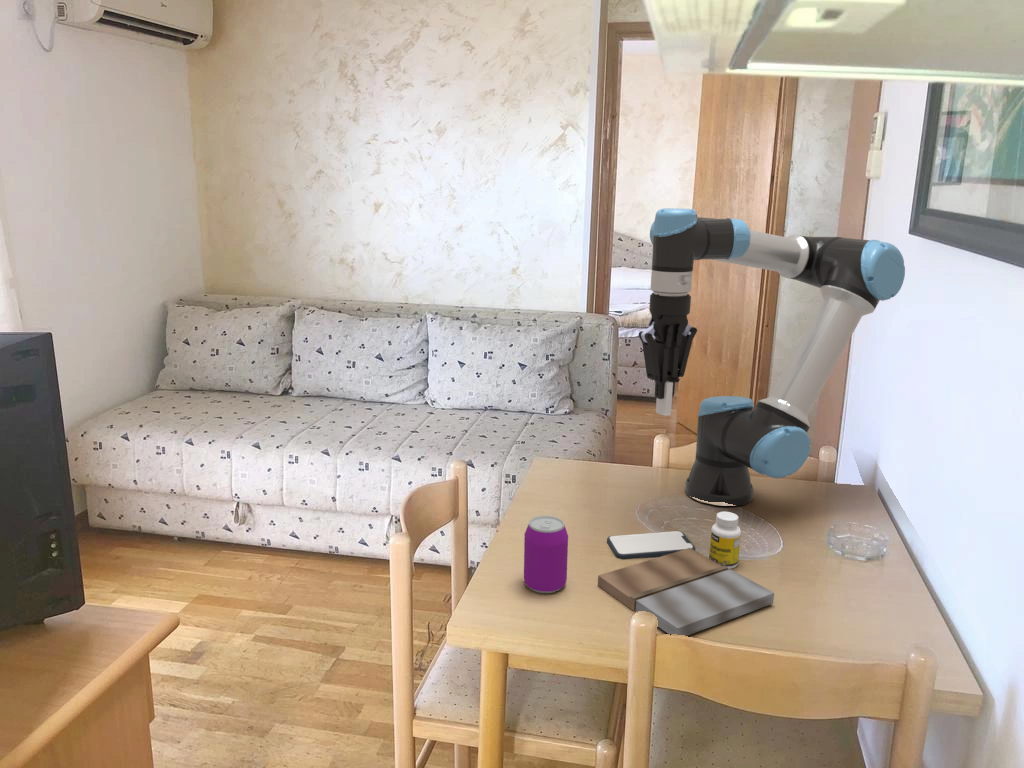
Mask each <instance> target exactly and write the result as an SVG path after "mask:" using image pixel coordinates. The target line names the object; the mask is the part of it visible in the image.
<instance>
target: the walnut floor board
mask: <svg viewBox="0 0 1024 768" xmlns="http://www.w3.org/2000/svg"><path fill="white" fill-rule="evenodd" d="M726 570H729V569H728V567H726V566H721V565H720V564H718V563H716V562H714V561H713V560H711V559H709V557H707V556H705V555H704V554H702V553H701V552H698V551H696V549H695V550H693V549H691V548H688V549H684V550H681V551H678V552H674V553H671V554H668V555H664V556H661V557H654V558H652V559H651V558H650V559H648V560H645V561H641V562H638V563H635V564H631V565H628V566H625V567H622V568H618V569H615V570H612V571H609V572H605V573H603V574H599V575H597V577H598V578H597V586H598V587H599V588H601V589H602V590H603V591H605V592H606V593H607V594H609V595H610V596H611V597H613V598H615V599H616V600H617V601H618V602H620V603H621V604H623V605H624V606H625V607H629V608H628V609H630V610H631V611H633V612H636V600H639V599H642V598H645V597H648V596H651V595H654V594H657V593H660V592H663V591H666V590H669V589H672V588H675V587H678V586H681V585H684V584H687V583H690V582H693V581H696V580H699V579H702V578H705V577H708V576H711V575H714V574H717V573H720V572H723V571H726Z"/></svg>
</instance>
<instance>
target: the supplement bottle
mask: <svg viewBox="0 0 1024 768" xmlns="http://www.w3.org/2000/svg"><path fill="white" fill-rule="evenodd" d="M738 525H739V515H737V514H736V513H735V512H734V513H733V512H730V511H720V512H718V513H716V516H715V523H714V524H712V525H711V530H710V542H709V550H708V551H709V552H708V553H709V555H708V558H709V559H711V560H713V561H714V562H716V563H718V564H720V565H721V566H726V567H728V570H729V569H731V570H733V569H734V568H736V567H737V566H738V565H739V557H740V548H741V547H740V545H741V536H742V531H741V528H740V527H739V526H738Z"/></svg>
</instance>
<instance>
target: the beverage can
mask: <svg viewBox="0 0 1024 768" xmlns="http://www.w3.org/2000/svg"><path fill="white" fill-rule="evenodd" d="M523 539H524V540H523V541H524V542H523V543H524V545H523V547H524V549H523V550H524V551H523V552H524V553H523V580H524V584H525V585H526V586H527V587H528V588H529V589H530V590H531V591H533V592H536V593H539V594H554V593H556V591H557V592H558V591H560V590H561V589H563V588H564V587H565V586H566V584H567V578H568V576H567V575H568V551H569V534H568V531H567V528H566V526H565V523H564V520H563V519H561V518H560V517H557V516H552V515H538V516H535V517H532V518H531V519H530V520H529V522H528V525H527V527H526V529H525V531H524V538H523ZM553 592H554V593H553Z"/></svg>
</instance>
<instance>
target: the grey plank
mask: <svg viewBox="0 0 1024 768" xmlns="http://www.w3.org/2000/svg"><path fill="white" fill-rule="evenodd" d="M774 597H775V592H773V591H772V590H770V589H768V588H766V587H764V586H762V584H761V585H760V584H758V583H757V582H755V581H753V580H751V579H750V578H747V577H746V576H744V575H743V574H740V573H738V572H737V571H735V570H734V569H728V570H726V571H723V572H720V573H717V574H714V575H711V576H708V577H705V578H702V579H699V580H696V581H693V582H690V583H687V584H684V585H681V586H678V587H675V588H672V589H669V590H666V591H663V592H660V593H657V594H654V595H651V596H648V597H645V598H642V599H639V600H636V611H635V612H636V613H638V612H637V611H646V612H650V613H652V614H654V615H655V616H656V617H657V620H658V626H657V627H658V628H659V629H660V630H662V631H664V632H665V633H667V634H668V635H669V634H677V635H687V636H686V637H688V636H690V635H693V634H696V633H698V632H701V631H704V630H706V629H709V628H711V627H715V626H717V625H719V624H722V623H725V622H727V621H730V620H733V619H735V618H738V617H741V616H743V615H746V614H750V613H752V612H754V611H757V610H759V609H762V608H764V607H767V606H769V605H773V604H774V599H775V598H774Z"/></svg>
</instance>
